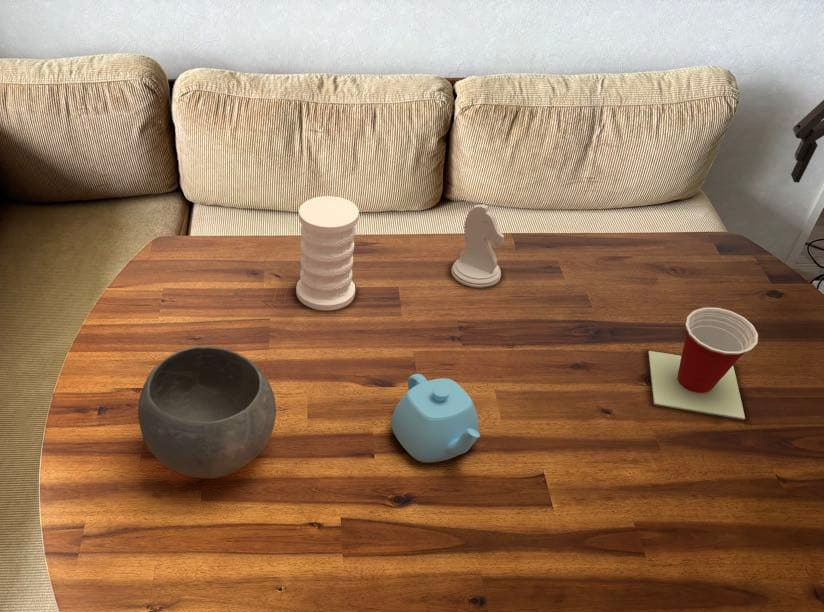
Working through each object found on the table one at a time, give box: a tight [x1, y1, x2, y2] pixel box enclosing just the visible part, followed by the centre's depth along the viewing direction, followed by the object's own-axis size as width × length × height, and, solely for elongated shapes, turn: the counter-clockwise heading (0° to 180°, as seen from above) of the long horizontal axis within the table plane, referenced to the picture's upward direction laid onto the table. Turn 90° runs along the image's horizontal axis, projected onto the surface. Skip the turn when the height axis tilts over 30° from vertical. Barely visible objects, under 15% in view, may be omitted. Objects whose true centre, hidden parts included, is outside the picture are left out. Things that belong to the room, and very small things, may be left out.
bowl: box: [137, 345, 277, 479], centre depth 116 cm, size 20×20×15 cm
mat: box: [647, 350, 746, 421], centre depth 132 cm, size 14×14×1 cm
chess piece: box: [450, 203, 505, 289], centre depth 151 cm, size 10×10×15 cm
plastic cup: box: [678, 307, 759, 393], centre depth 127 cm, size 11×11×12 cm
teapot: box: [390, 373, 481, 463], centre depth 119 cm, size 13×11×18 cm
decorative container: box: [295, 195, 360, 311], centre depth 145 cm, size 12×12×18 cm
